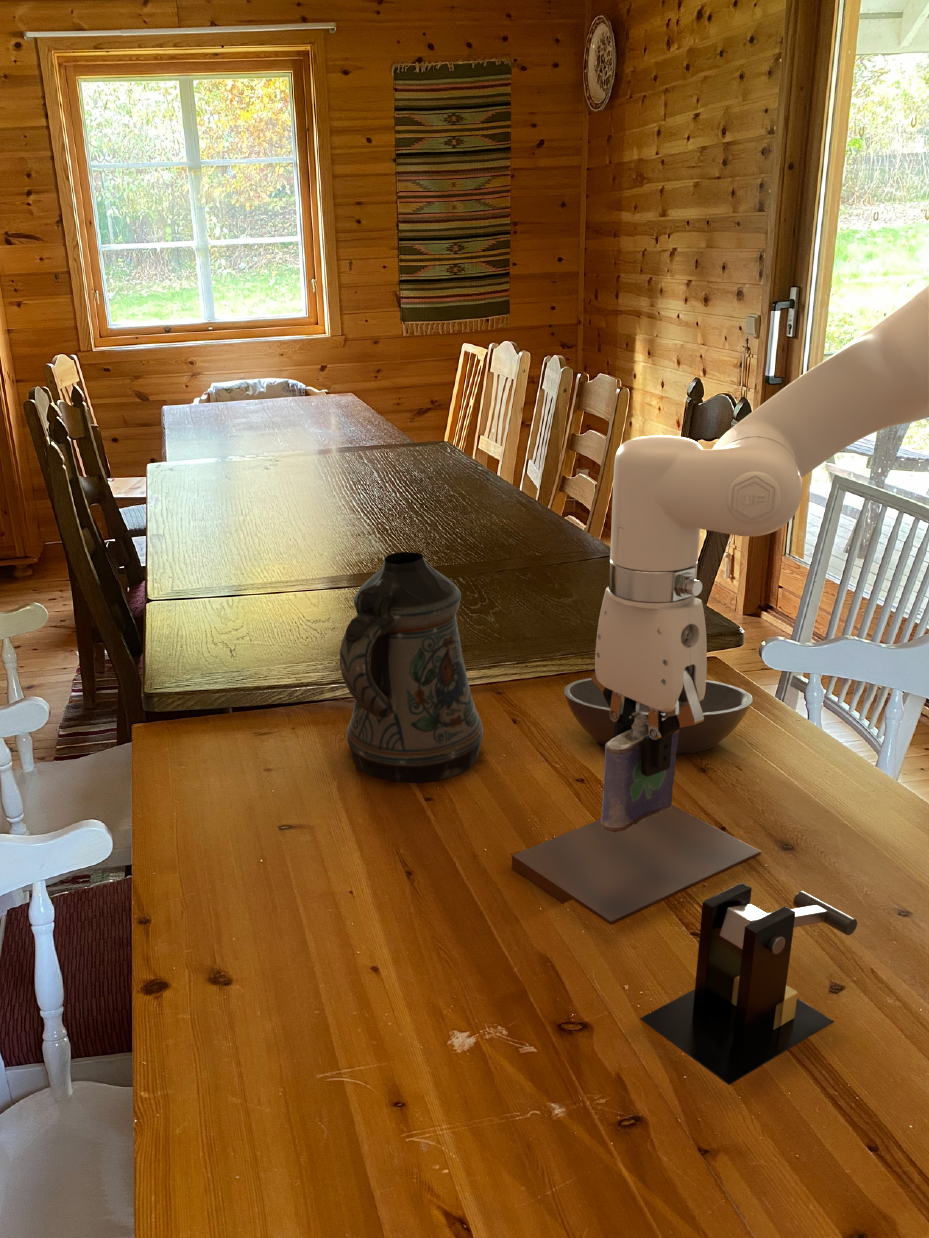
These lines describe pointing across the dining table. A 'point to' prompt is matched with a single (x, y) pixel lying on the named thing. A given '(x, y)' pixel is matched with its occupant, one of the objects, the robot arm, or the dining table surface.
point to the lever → (806, 914)
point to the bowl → (718, 708)
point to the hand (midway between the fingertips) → (641, 762)
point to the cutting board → (631, 862)
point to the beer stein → (409, 676)
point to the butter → (787, 1007)
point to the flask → (633, 780)
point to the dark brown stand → (707, 1014)
